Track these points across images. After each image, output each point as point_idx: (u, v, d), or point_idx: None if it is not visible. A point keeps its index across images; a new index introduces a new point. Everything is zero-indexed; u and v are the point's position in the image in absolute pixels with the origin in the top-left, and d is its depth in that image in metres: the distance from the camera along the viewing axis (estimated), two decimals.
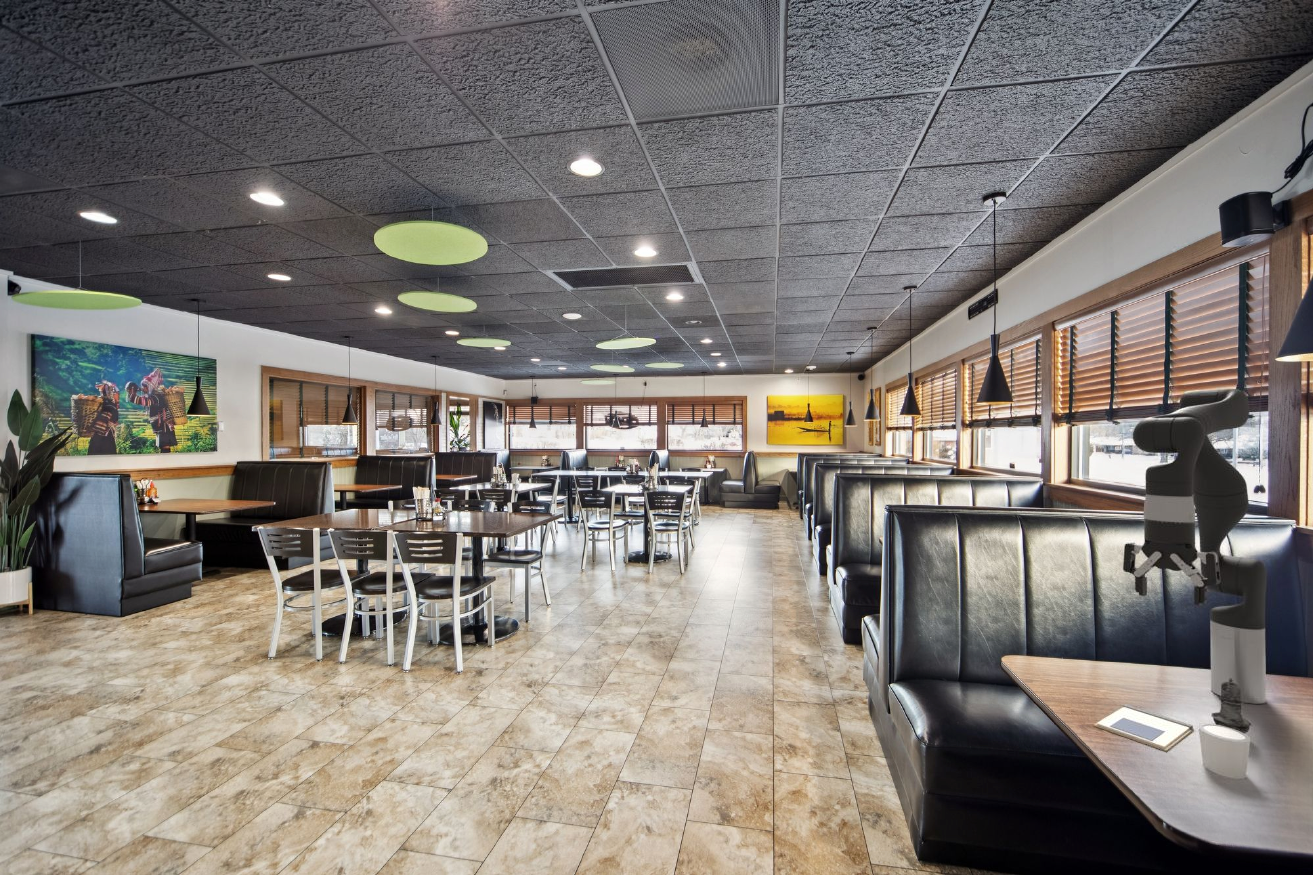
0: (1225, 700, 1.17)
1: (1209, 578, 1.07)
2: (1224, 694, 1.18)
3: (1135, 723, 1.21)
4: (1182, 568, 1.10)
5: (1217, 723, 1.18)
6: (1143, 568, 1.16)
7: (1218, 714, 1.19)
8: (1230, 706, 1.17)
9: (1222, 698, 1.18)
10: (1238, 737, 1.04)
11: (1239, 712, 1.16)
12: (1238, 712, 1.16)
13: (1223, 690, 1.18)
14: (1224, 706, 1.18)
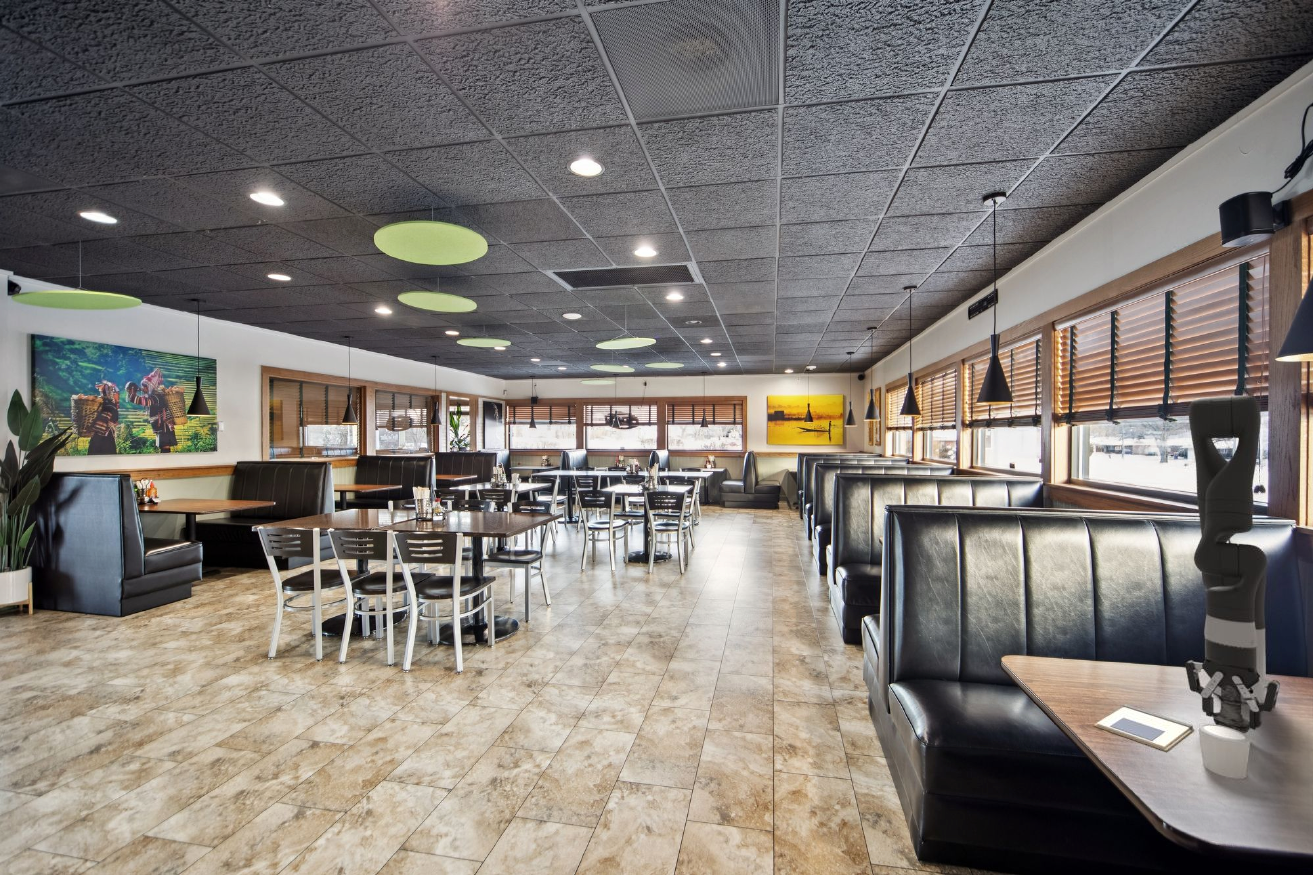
0: (1226, 700, 1.17)
1: (1264, 705, 1.13)
2: (1224, 694, 1.18)
3: (1135, 723, 1.21)
4: (1241, 691, 1.15)
5: (1217, 723, 1.18)
6: (1209, 689, 1.20)
7: (1218, 714, 1.19)
8: (1230, 706, 1.17)
9: (1222, 698, 1.18)
10: (1238, 737, 1.04)
11: (1239, 712, 1.16)
12: (1238, 712, 1.16)
13: (1223, 690, 1.18)
14: (1224, 706, 1.18)
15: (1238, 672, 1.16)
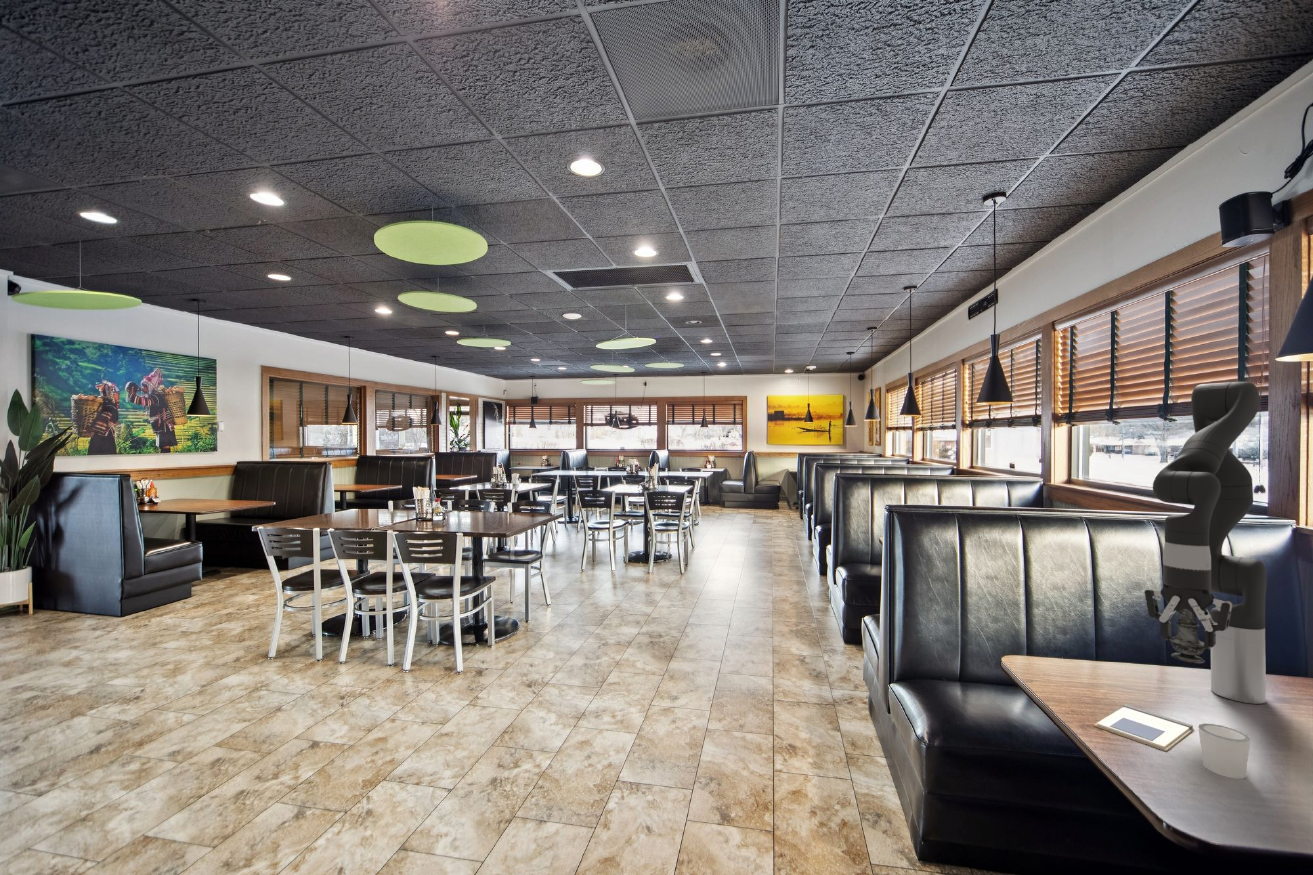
0: (1182, 623, 1.21)
1: (1218, 624, 1.17)
2: (1181, 617, 1.22)
3: (1135, 723, 1.21)
4: (1196, 612, 1.19)
5: (1174, 646, 1.22)
6: (1166, 613, 1.24)
7: (1175, 637, 1.23)
8: (1186, 629, 1.21)
9: (1179, 621, 1.22)
10: (1238, 736, 1.04)
11: (1195, 634, 1.20)
12: (1194, 634, 1.20)
13: (1180, 614, 1.22)
14: (1181, 629, 1.22)
15: (1194, 595, 1.20)
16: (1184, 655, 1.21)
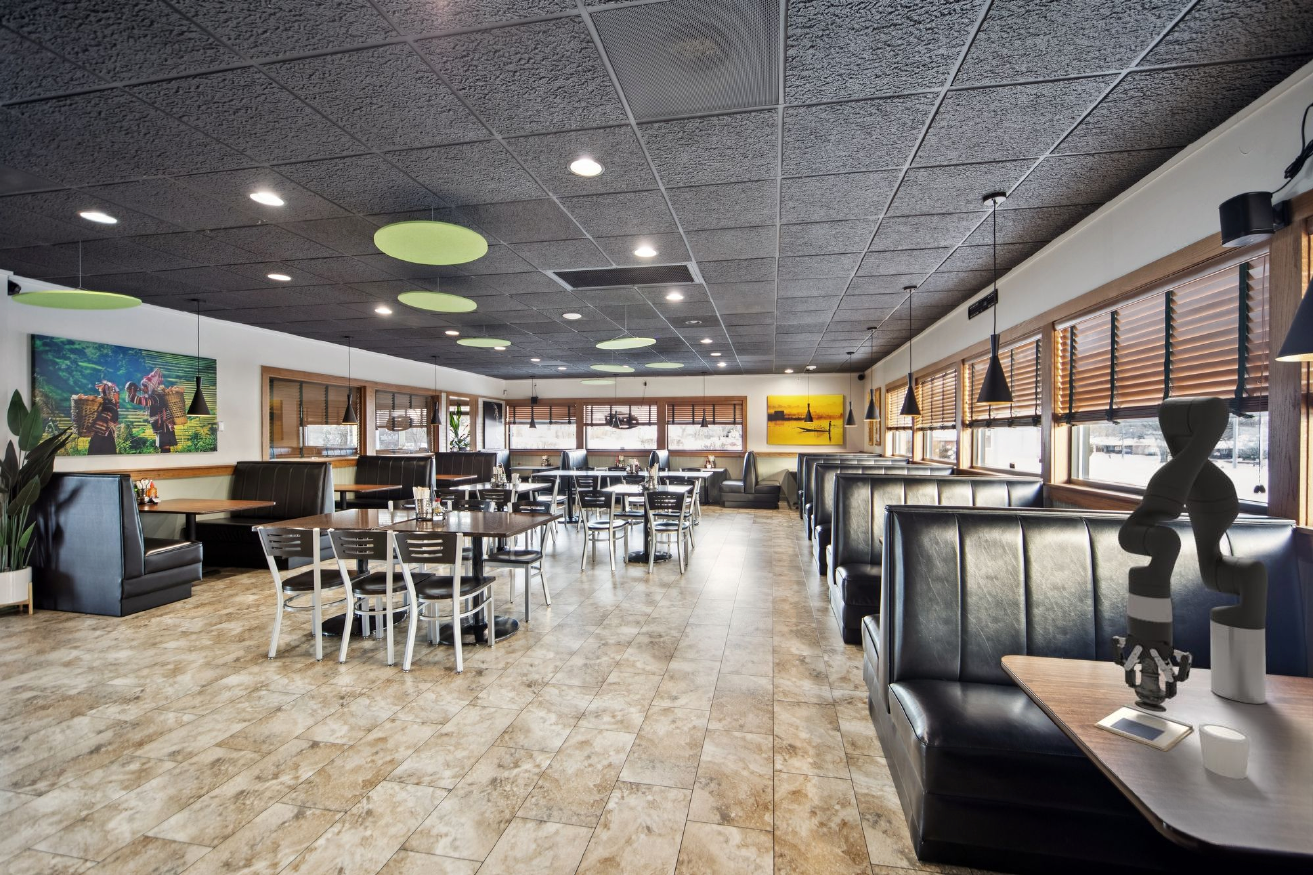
0: (1144, 672, 1.25)
1: (1178, 675, 1.20)
2: (1143, 666, 1.25)
3: (1135, 723, 1.21)
4: (1158, 663, 1.23)
5: (1137, 694, 1.25)
6: (1130, 662, 1.27)
7: (1138, 685, 1.26)
8: (1148, 678, 1.24)
9: (1142, 670, 1.25)
10: (1238, 737, 1.04)
11: (1157, 683, 1.24)
12: (1156, 683, 1.24)
13: (1143, 663, 1.25)
14: (1143, 678, 1.25)
15: (1155, 645, 1.23)
16: (1146, 703, 1.25)
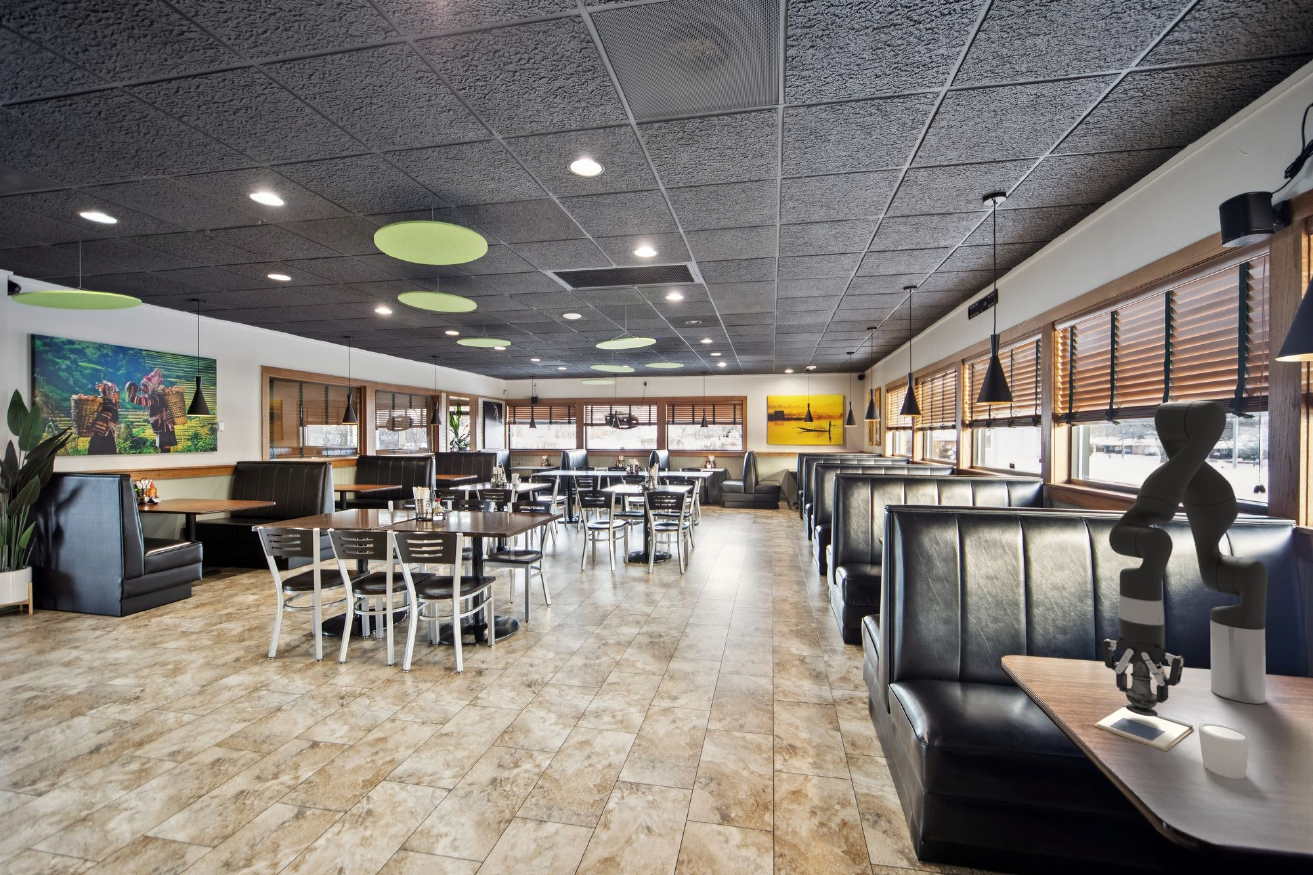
0: (1136, 676, 1.23)
1: (1169, 679, 1.18)
2: (1135, 670, 1.23)
3: (1135, 723, 1.21)
4: (1149, 666, 1.21)
5: (1128, 698, 1.23)
6: (1121, 665, 1.25)
7: (1130, 689, 1.24)
8: (1139, 681, 1.22)
9: (1133, 674, 1.24)
10: (1238, 736, 1.04)
11: (1148, 687, 1.22)
12: (1147, 687, 1.22)
13: (1134, 666, 1.23)
14: (1134, 681, 1.23)
15: (1147, 648, 1.22)
16: (1138, 707, 1.23)
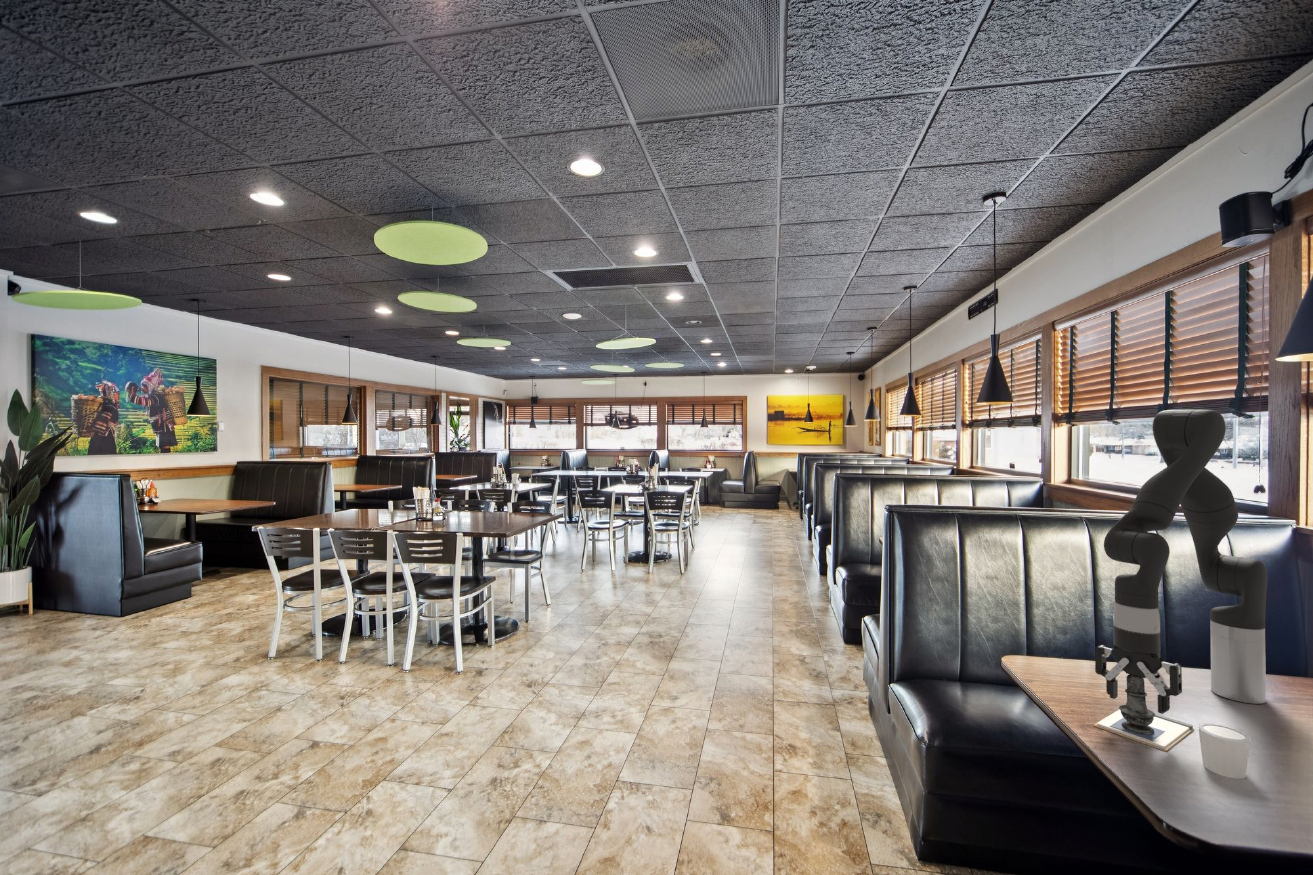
0: (1130, 692, 1.19)
1: (1171, 689, 1.14)
2: (1129, 686, 1.19)
3: None
4: (1147, 676, 1.16)
5: (1123, 715, 1.20)
6: (1113, 672, 1.22)
7: (1124, 706, 1.20)
8: (1134, 698, 1.18)
9: (1127, 690, 1.20)
10: (1238, 736, 1.04)
11: (1143, 703, 1.18)
12: (1142, 704, 1.18)
13: (1128, 682, 1.20)
14: (1129, 698, 1.19)
15: (1143, 658, 1.18)
16: (1133, 725, 1.19)
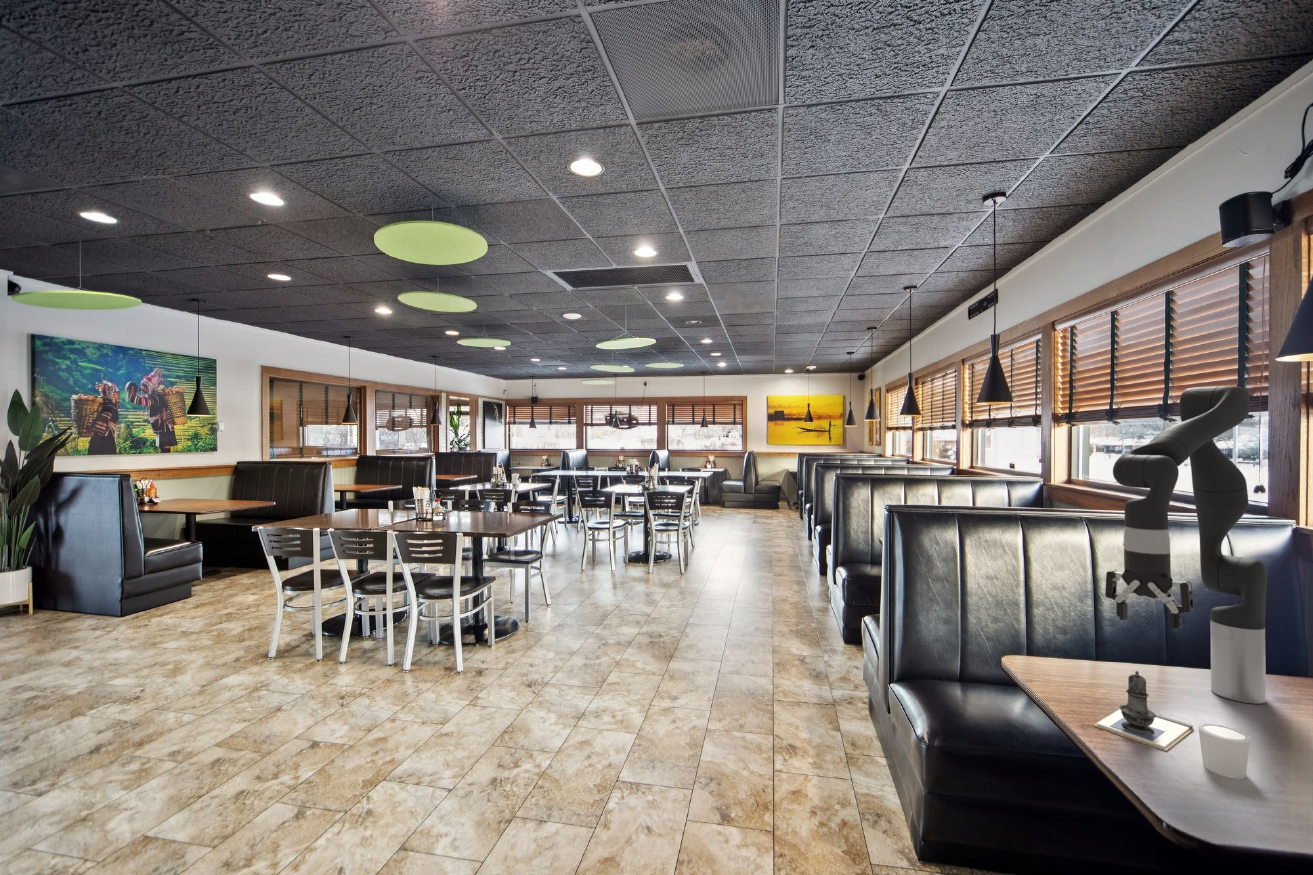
0: (1132, 693, 1.19)
1: (1183, 606, 1.16)
2: (1130, 687, 1.19)
3: None
4: (1159, 596, 1.19)
5: (1124, 715, 1.19)
6: (1123, 595, 1.24)
7: (1125, 706, 1.20)
8: (1135, 699, 1.18)
9: (1129, 691, 1.20)
10: (1238, 737, 1.04)
11: (1144, 704, 1.18)
12: (1143, 705, 1.18)
13: (1130, 683, 1.19)
14: (1130, 698, 1.19)
15: (1153, 579, 1.20)
16: (1134, 725, 1.19)
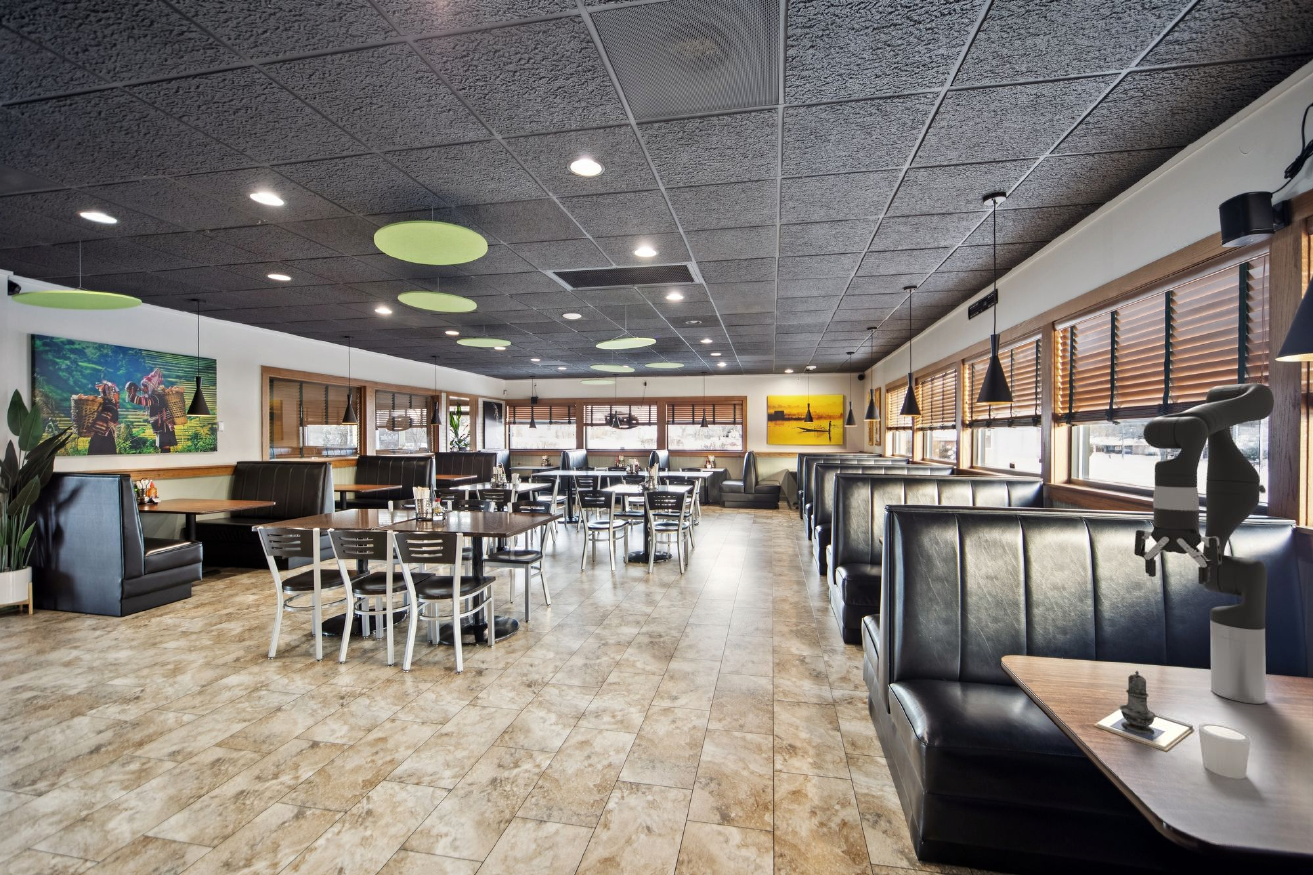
0: (1132, 693, 1.19)
1: (1212, 559, 1.21)
2: (1130, 686, 1.19)
3: None
4: (1187, 551, 1.24)
5: (1124, 715, 1.19)
6: (1152, 552, 1.29)
7: (1125, 706, 1.20)
8: (1135, 699, 1.18)
9: (1129, 690, 1.20)
10: (1238, 736, 1.04)
11: (1144, 704, 1.18)
12: (1143, 704, 1.18)
13: (1130, 683, 1.19)
14: (1130, 698, 1.19)
15: (1182, 535, 1.25)
16: (1134, 725, 1.19)
